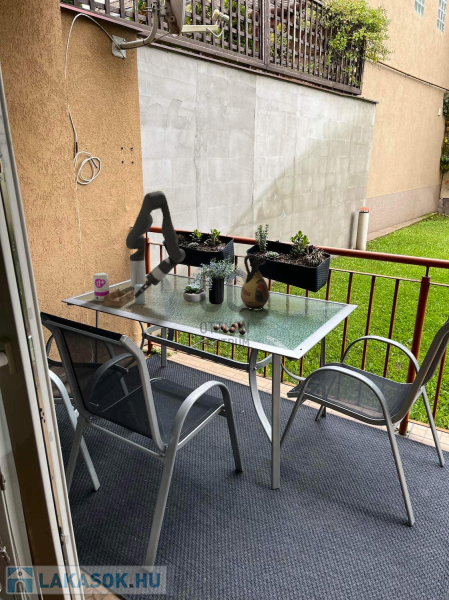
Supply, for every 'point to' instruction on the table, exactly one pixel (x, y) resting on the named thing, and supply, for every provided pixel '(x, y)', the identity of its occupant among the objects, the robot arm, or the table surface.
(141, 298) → the domed pale cylinder
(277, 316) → the table surface
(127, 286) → the table surface
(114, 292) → the wooden serving tray
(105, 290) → the supplement can
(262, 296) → the ceramic jug
